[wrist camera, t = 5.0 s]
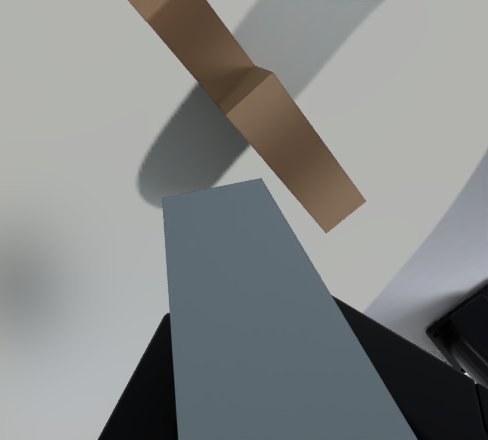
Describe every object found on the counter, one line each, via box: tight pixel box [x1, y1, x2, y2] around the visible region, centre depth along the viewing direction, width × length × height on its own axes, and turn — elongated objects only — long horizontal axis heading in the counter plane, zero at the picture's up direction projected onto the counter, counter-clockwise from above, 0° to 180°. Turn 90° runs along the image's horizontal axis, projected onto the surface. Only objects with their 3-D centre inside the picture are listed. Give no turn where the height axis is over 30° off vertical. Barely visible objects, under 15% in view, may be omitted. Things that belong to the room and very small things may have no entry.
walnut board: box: [128, 0, 366, 233], centre depth 13 cm, size 16×2×5 cm, turn 39°
